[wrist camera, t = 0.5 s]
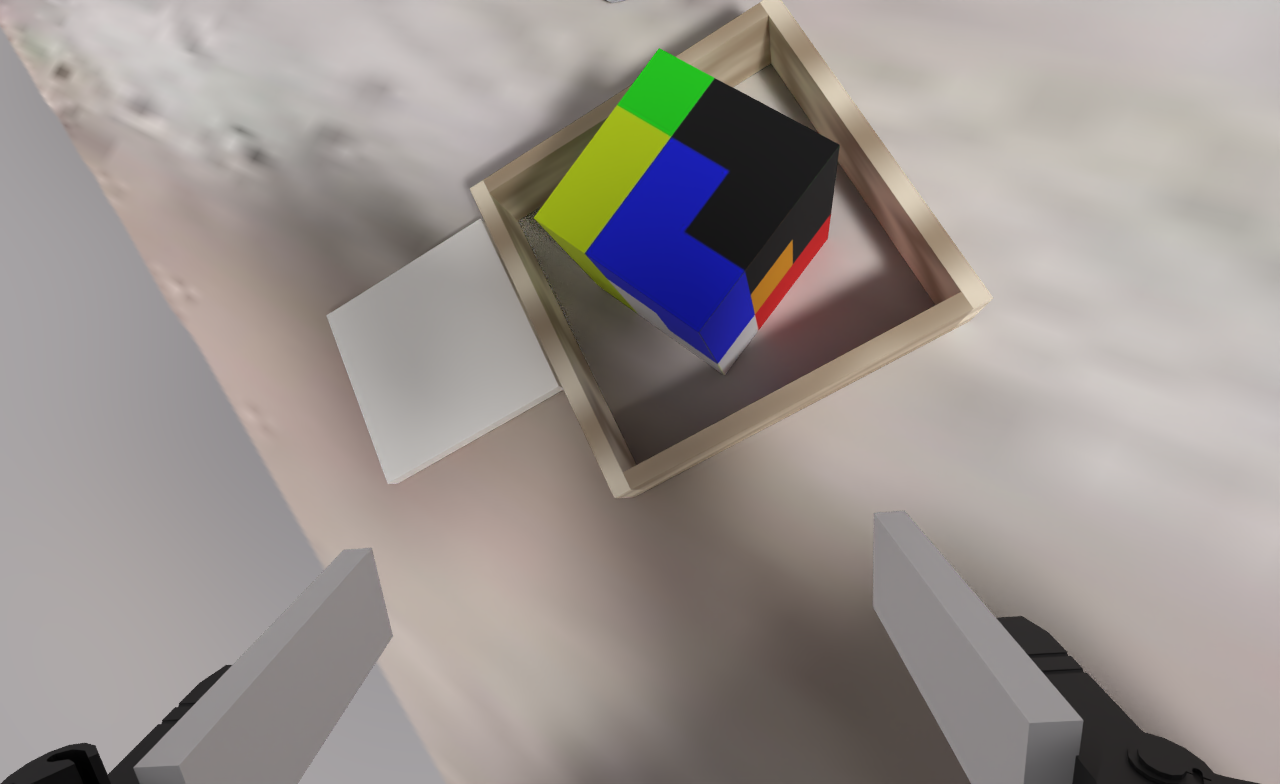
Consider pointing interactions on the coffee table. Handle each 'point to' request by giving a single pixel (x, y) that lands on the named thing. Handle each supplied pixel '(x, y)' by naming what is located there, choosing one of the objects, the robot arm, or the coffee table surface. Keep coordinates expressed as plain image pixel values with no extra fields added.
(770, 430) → the coffee table surface
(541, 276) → the bin
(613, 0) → the ceramic cup
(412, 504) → the coffee table surface
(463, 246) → the pad
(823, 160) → the puzzle toy
